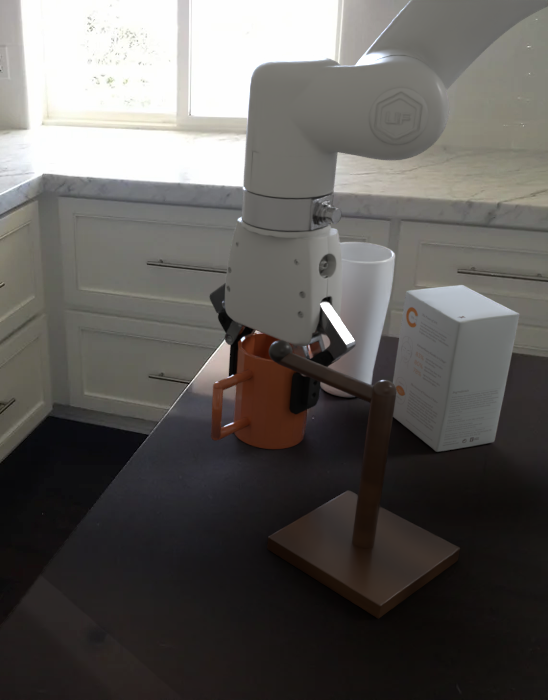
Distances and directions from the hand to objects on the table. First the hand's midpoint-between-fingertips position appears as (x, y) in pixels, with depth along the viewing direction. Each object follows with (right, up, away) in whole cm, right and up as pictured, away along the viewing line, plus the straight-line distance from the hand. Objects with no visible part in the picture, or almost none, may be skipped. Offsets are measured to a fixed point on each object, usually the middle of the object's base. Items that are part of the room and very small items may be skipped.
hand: (271, 393), depth 81 cm
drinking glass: (+10, 0, +10) cm, 14 cm away
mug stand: (+2, -11, -14) cm, 18 cm away
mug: (-2, -4, +1) cm, 5 cm away
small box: (+16, -4, +2) cm, 17 cm away
